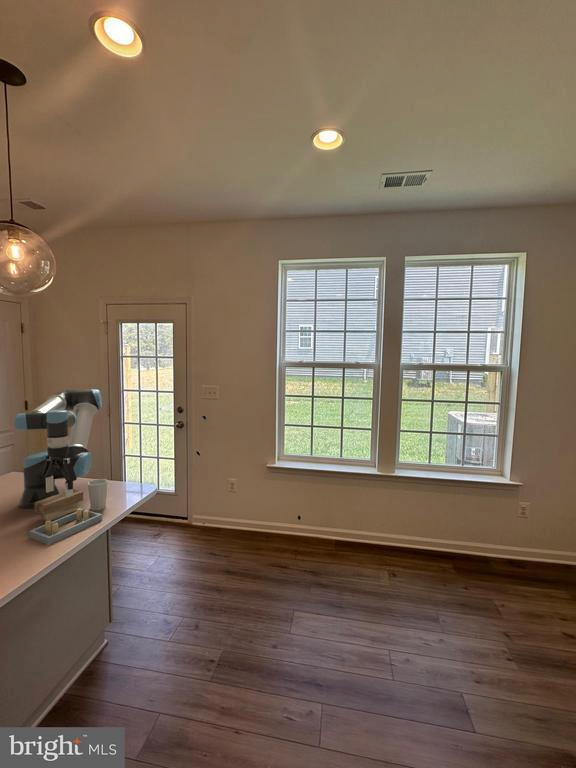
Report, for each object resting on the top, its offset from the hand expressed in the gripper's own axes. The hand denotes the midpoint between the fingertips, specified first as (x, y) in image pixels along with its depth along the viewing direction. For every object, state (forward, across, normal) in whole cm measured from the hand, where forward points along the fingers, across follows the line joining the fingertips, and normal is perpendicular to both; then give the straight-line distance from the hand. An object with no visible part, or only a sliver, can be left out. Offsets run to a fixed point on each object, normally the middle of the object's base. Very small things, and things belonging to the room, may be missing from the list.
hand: (59, 494), depth 141 cm
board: (+5, 0, 0) cm, 5 cm away
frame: (+10, +15, -6) cm, 18 cm away
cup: (+10, +8, +12) cm, 17 cm away
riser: (+9, 0, 0) cm, 9 cm away
